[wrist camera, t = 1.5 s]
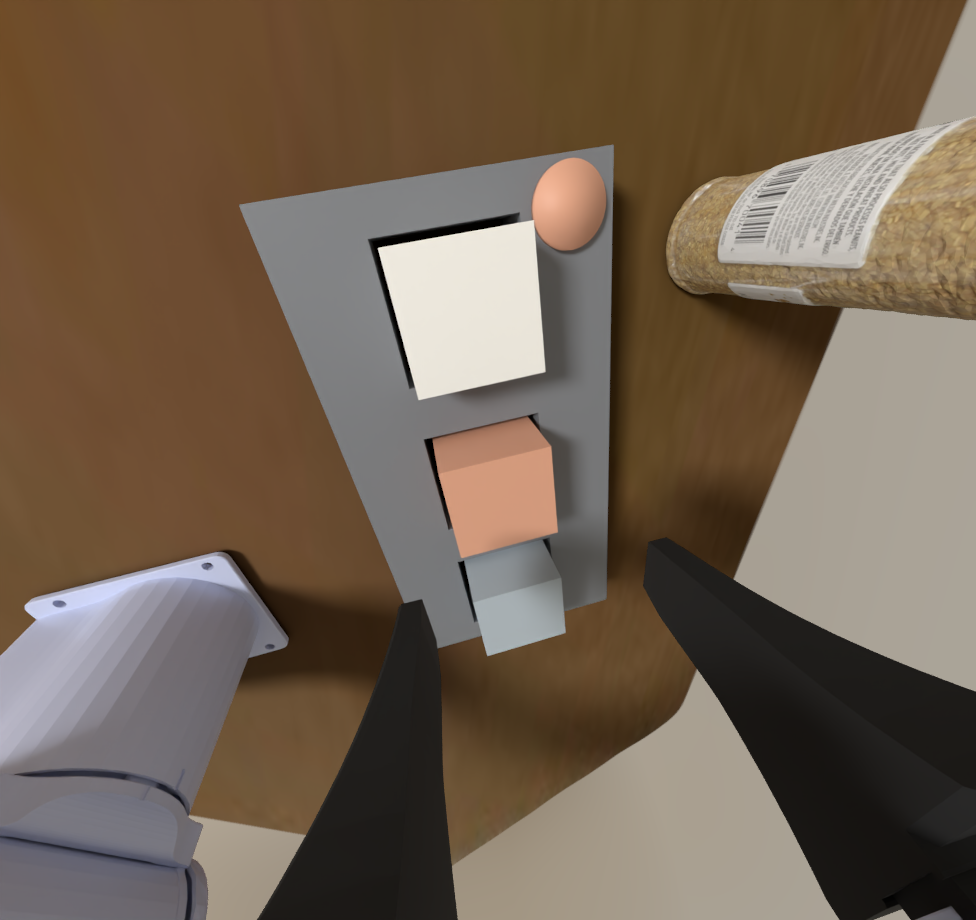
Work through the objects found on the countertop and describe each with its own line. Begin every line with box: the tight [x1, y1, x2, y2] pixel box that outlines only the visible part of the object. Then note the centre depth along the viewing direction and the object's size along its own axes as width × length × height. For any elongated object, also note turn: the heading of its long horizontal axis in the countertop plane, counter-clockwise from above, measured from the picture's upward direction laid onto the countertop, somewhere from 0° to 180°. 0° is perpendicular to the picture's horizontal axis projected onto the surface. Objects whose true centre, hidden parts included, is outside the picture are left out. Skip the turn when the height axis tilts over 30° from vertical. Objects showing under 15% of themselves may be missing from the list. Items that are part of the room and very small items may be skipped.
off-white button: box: [378, 220, 546, 400], centre depth 13 cm, size 4×4×3 cm
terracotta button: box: [432, 416, 558, 558], centre depth 17 cm, size 4×4×3 cm
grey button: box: [464, 540, 565, 656], centre depth 21 cm, size 4×4×3 cm
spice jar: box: [666, 116, 976, 320], centre depth 11 cm, size 5×5×13 cm
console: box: [239, 145, 614, 648], centre depth 18 cm, size 12×23×3 cm, turn 9°
